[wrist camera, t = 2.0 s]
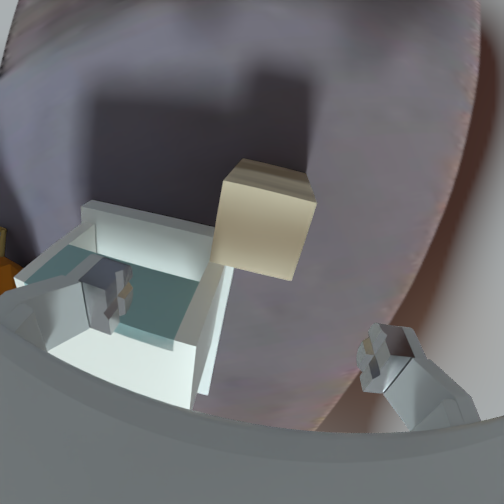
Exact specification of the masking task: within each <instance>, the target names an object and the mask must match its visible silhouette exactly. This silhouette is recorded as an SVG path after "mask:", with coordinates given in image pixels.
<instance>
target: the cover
mask: <svg viewBox="0 0 504 504" xmlns="http://www.w3.org/2000/svg"><path fill="white" fill-rule="evenodd" d="M90 254H96V255H100V256H103V257H105V258H109V259H112V260H115V261H118V262H121V263H125V264H128V265H130V266H131V267H132V273H133V277H132V278H131V280H130V281H129V282H130V284H131V286H132V287H133V299H132V303H131V305H130V308H129V310H128V311H127V313H126V314H125V315H122V316H120V317H119V319H120V323H119V324H118V326H117V327H116V329H115V330H114V332H113V333H112V335H108V334H106V333H103V332H100V331H97V330H95V329H92V328H89V329H88V330H86V331H84V332H82V333H80V334H79V335H77V336H75V337H73V338H71V339H69V340H67V341H65V342H64V343H62V344H60V345H58V346H56V347H54V348H52V349H51V350H49V351H48V353H50V354H52V355H54V356H55V357H57V358H59V359H61V360H63V361H65V362H67V363H69V364H71V365H73V366H75V367H77V368H79V369H81V370H83V371H86V372H88V373H90V374H92V375H94V376H97V377H99V378H101V379H103V380H106V381H108V382H111V383H113V384H115V385H118V386H120V387H123V388H126V389H128V390H131V391H134V392H136V393H139V394H142V395H145V396H148V397H151V398H153V399H156V400H160V401H163V402H166V403H169V404H172V405H176V406H179V407H183V408H186V409H190V410H192V409H193V405H194V402H195V398H196V395H197V391H198V388H199V384H200V381H201V377H202V374H203V370H204V367H205V364H206V360H207V357H208V353H209V350H210V346H211V343H212V338H213V333H214V327H215V322H216V316H217V311H218V306H219V300H220V295H221V290H222V285H223V279H224V274H225V269H226V265H222V264H217V263H213V262H208V265H207V267H206V269H205V271H204V273H203V275H202V278H201V280H200V282H199V281H195V280H191V279H187V278H183V277H180V276H176V275H172V274H168V273H165V272H161V271H157V270H154V269H150V268H146V267H143V266H139V265H136V264H132V263H129V262H125V261H122V260H119V259H115V258H112V257H108V256H105V255H102V254H98V253H96V244H95V226H94V224H91V223H88V222H83V223H81V224H80V225H79V226H77V227H76V228H74V229H73V230H72V231H70V232H69V233H68V234H66V235H65V236H64V237H62V238H61V239H60V240H58V241H57V242H56V243H54V244H53V245H52V246H50V247H49V248H48V249H47V250H45V251H44V252H43V253H42V254H40V255H39V256H38V257H37V258H35V259H34V260H33V261H32V262H31V263H29V264H28V265H27V266H26V267H25V268H24V269H22V270H21V271H20V272H19V273H18V274H17V275H15V276H14V280H15V284H16V287H17V288H18V287H22V286H25V285H29V284H32V283H35V282H39V281H42V280H46V279H49V278H53V277H56V276H60V275H64V276H66V275H67V274H68V273H70V272H71V271H72V270H73V269H74V268H75V267H76V266H77V265H79V264H80V263H81V262H82V261H83V260H84V259H86V258H87V257H88V256H89V255H90Z"/></svg>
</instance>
